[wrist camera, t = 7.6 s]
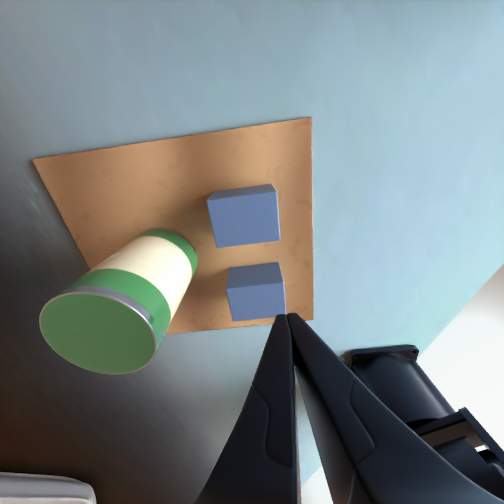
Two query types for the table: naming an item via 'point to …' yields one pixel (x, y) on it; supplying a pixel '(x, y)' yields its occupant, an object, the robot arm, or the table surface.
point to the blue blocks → (242, 233)
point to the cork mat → (194, 207)
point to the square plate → (43, 489)
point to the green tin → (122, 304)
